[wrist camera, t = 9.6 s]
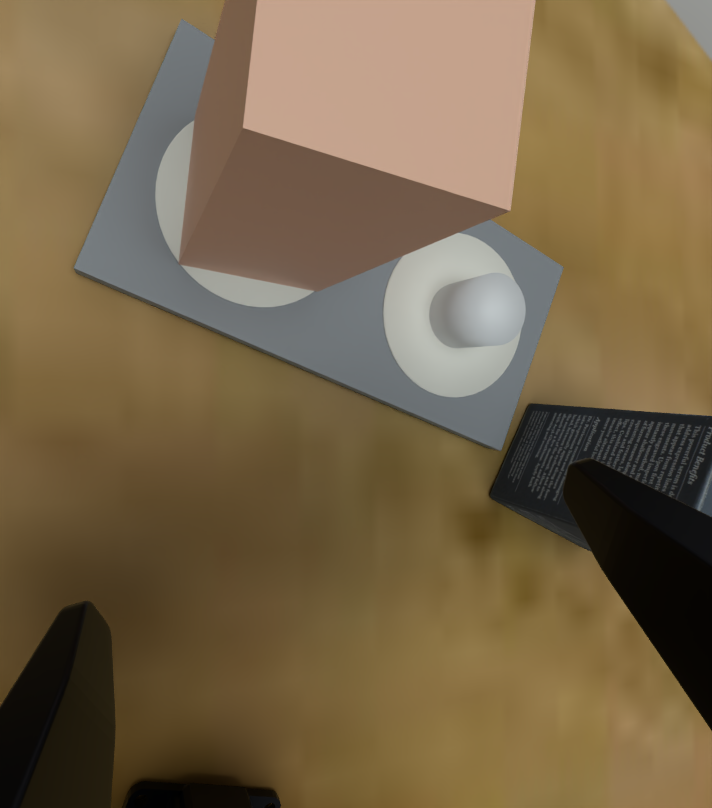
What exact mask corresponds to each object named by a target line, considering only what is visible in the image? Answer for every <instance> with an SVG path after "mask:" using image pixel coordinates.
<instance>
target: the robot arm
mask: <svg viewBox="0 0 712 808" xmlns="http://www.w3.org/2000/svg"><path fill="white" fill-rule="evenodd" d="M563 498H564V501H565V503H566V505H567V507H568V509H569V510H570V512H571V514H572V516H573V518H574V520H575V522H576V523H577V525H578V527H579V529H580V531H581V533H582V534H583V536H584V538H585V540H586V542H587V544H588V546H589V547H590V549H591V551H592V553H593V555H594V557H595V558H596V560H597V562H598V564H599V565H600V567H601V569H602V570H603V572H604V573H605V575H606V577H607V578H608V580H609V581H610V583H611V584H612V586H613V587H614V588H615V590H616V591H617V593H618V594H619V596H620V597H621V599H622V600H623V602H624V603H625V605H626V606H627V607H628V609H629V610H630V612H631V613H632V615H633V616H634V618H635V619H636V621H637V622H638V624H639V625H640V627H641V628H642V629H643V631H644V632H645V634H646V635H647V637H648V638H649V640H650V641H651V643H652V644H653V646H654V647H655V648H656V650H657V651H658V653H659V654H660V656H661V657H662V659H663V660H664V662H665V663H666V665H667V666H668V667H669V669H670V670H671V672H672V673H673V675H674V676H675V678H676V679H677V681H678V682H679V684H680V685H681V687H682V688H683V689H684V691H685V692H686V694H687V695H688V697H689V698H690V700H691V701H692V703H693V704H694V706H695V707H696V708H697V710H698V711H699V713H700V714H701V716H702V717H703V719H704V720H705V722H706V723H707V725H708V726H709V728H710V729H711V730H712V517H711V516H709V515H707V514H705V513H703V512H701V511H699V510H697V509H695V508H692V507H690V506H688V505H686V504H684V503H682V502H680V501H678V500H676V499H674V498H672V497H670V496H668V495H666V494H664V493H662V492H660V491H658V490H656V489H654V488H652V487H650V486H648V485H646V484H644V483H642V482H640V481H638V480H636V479H634V478H632V477H629V476H627V475H625V474H623V473H621V472H619V471H617V470H615V469H613V468H611V467H609V466H607V465H605V464H603V463H601V462H599V461H597V460H595V459H592V458H585V459H581V460H578V461H574V462H572V463H570V464H569V466H568V469H567V473H566V478H565V482H564V486H563ZM114 748H115V701H114V681H113V660H112V639H111V632H110V628H109V626H108V624H107V623H106V621H105V620H104V618H103V617H102V616H101V614H100V613H99V611H98V610H97V609H96V607H95V606H94V605H93V604H92V602H90V601H83V602H80V603H76V604H73V605H69V606H66V607H64V608H63V609H62V610H61V611H60V612H59V614H58V615H57V617H56V618H55V620H54V622H53V623H52V625H51V626H50V628H49V630H48V631H47V633H46V634H45V636H44V638H43V639H42V641H41V642H40V644H39V645H38V647H37V649H36V650H35V652H34V653H33V655H32V657H31V658H30V660H29V661H28V663H27V665H26V666H25V668H24V669H23V671H22V673H21V674H20V676H19V677H18V679H17V681H16V682H15V684H14V685H13V687H12V688H11V690H10V692H9V693H8V695H7V696H6V698H5V700H4V701H3V703H2V704H1V706H0V808H111V793H112V778H113V763H114ZM140 795H146V797H145V798H144V799H142V800H136V798H137V797H138V796H140ZM269 803H272V804H271V805H270V806H269V807H267V808H280V807H281V804H280V800H279V797H278V795H277V793H276V792H274V791H271V790H257V789H245V788H244V787H235V786H222V785H209V784H195V783H190V784H176V783H162V782H149V781H144V782H139V783H137V784H135V785H134V786H133V787H132V788H131V789H130V790H129V792H128V794H127V797H126V799H125V802H124V805H123V807H122V808H265V806H266V805H267V804H269Z"/></svg>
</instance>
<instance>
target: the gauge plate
mask: <svg viewBox="0 0 712 808" xmlns="http://www.w3.org/2000/svg"><path fill="white" fill-rule="evenodd" d="M214 41H215V40H214V39H212V38H211V37H209V36H208V35H206V34H204V33H203V32H201V31H200V30H198V29H197V28H195V27H194V26H192V25H191V24H189V23H188V22H186V21H184V20H183V19H181V22H180V24H179V26H178V28H177V31H176V33H175V35H174V38H173V40H172V42H171V45H170V47H169V49H168V52H167V54H166V56H165V58H164V61H163V63H162V65H161V68H160V70H159V72H158V75H157V77H156V79H155V82H154V84H153V86H152V88H151V91H150V93H149V95H148V98H147V100H146V102H145V105H144V107H143V109H142V112H141V114H140V116H139V118H138V121H137V123H136V125H135V128H134V130H133V132H132V135H131V137H130V139H129V142H128V144H127V146H126V148H125V151H124V153H123V155H122V158H121V160H120V162H119V165H118V167H117V169H116V172H115V174H114V176H113V178H112V181H111V183H110V185H109V188H108V190H107V192H106V195H105V197H104V199H103V202H102V204H101V206H100V208H99V211H98V213H97V215H96V218H95V220H94V222H93V225H92V227H91V229H90V232H89V234H88V236H87V238H86V241H85V243H84V245H83V248H82V250H81V252H80V255H79V257H78V259H77V262H76V264H75V266H74V270H75V271H76V273H78V274H80V275H82V276H85V277H87V278H89V279H92V280H94V281H96V282H99V283H101V284H103V285H106V286H108V287H111V288H113V289H115V290H118V291H120V292H122V293H125V294H127V295H129V296H132V297H134V298H136V299H139V300H141V301H143V302H146V303H148V304H150V305H153V306H155V307H158V308H160V309H162V310H165V311H167V312H169V313H172V314H174V315H176V316H179V317H181V318H183V319H186V320H188V321H190V322H193V323H195V324H197V325H200V326H202V327H205V328H207V329H209V330H212V331H214V332H216V333H219V334H221V335H223V336H226V337H228V338H230V339H233V340H235V341H237V342H240V343H242V344H245V345H247V346H249V347H252V348H254V349H256V350H259V351H261V352H263V353H266V354H268V355H270V356H273V357H275V358H277V359H280V360H282V361H284V362H287V363H289V364H292V365H294V366H296V367H299V368H301V369H303V370H306V371H308V372H310V373H313V374H315V375H317V376H320V377H322V378H324V379H327V380H329V381H332V382H334V383H336V384H339V385H341V386H343V387H346V388H348V389H350V390H353V391H355V392H357V393H360V394H362V395H364V396H367V397H369V398H371V399H374V400H376V401H379V402H381V403H383V404H386V405H388V406H390V407H393V408H395V409H397V410H400V411H402V412H404V413H407V414H409V415H411V416H414V417H416V418H418V419H421V420H423V421H426V422H428V423H430V424H433V425H435V426H437V427H440V428H442V429H444V430H447V431H449V432H451V433H454V434H456V435H458V436H461V437H463V438H466V439H468V440H470V441H473V442H475V443H477V444H480V445H482V446H484V447H487V448H490V449H494V450H499V451H501V450H502V447H503V444H504V441H505V438H506V435H507V432H508V429H509V426H510V424H511V421H512V418H513V415H514V412H515V409H516V406H517V403H518V400H519V397H520V394H521V391H522V388H523V385H524V382H525V379H526V376H527V374H528V371H529V368H530V365H531V362H532V359H533V356H534V353H535V350H536V347H537V344H538V341H539V338H540V335H541V332H542V329H543V327H544V324H545V321H546V318H547V315H548V312H549V309H550V306H551V303H552V300H553V297H554V294H555V291H556V288H557V285H558V282H559V279H560V277H561V274H562V271H563V268H564V267H562V266H561V265H559V264H558V263H556V262H555V261H553V260H552V259H550V258H549V257H547V256H546V255H544V254H542V253H541V252H539V251H538V250H536V249H535V248H533V247H532V246H530V245H529V244H527V243H526V242H524V241H522V240H521V239H519V238H518V237H516V236H515V235H513V234H512V233H510V232H509V231H507V230H506V229H504V228H502V227H501V226H499V225H498V224H496V223H495V222H493V221H492V220H488V221H485V222H483V223H480V224H478V225H476V226H473V227H471V228H468V229H466V230H464V231H461V232H459V233H456V234H454V235H452V236H449V237H447V238H445V239H442V240H440V241H437V242H435V243H433V244H430V245H428V246H425V247H423V248H421V249H418V250H416V251H414V252H411V253H409V254H406V255H404V256H402V257H399V258H397V259H394V260H392V261H390V262H387V263H385V264H382V265H380V266H378V267H375V268H373V269H371V270H368V271H366V272H363V273H361V274H359V275H356V276H354V277H351V278H349V279H347V280H344V281H342V282H340V283H337V284H335V285H332V286H330V287H328V288H325V289H323V290H320V291H318V292H316V291H311V290H306V289H301V288H296V287H291V286H286V285H281V284H276V283H271V282H266V281H261V280H256V279H250V278H245V277H240V276H235V275H230V274H225V273H220V272H215V271H210V270H205V269H200V268H195V267H190V266H184V265H179V264H178V263H179V254H180V245H181V236H182V227H183V218H184V209H185V200H186V191H187V182H188V173H189V164H190V155H191V146H192V137H193V128H194V119H195V114H196V110H197V106H198V102H199V98H200V94H201V91H202V87H203V83H204V79H205V75H206V72H207V68H208V64H209V60H210V56H211V52H212V49H213V45H214Z"/></svg>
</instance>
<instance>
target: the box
mask: <svg viewBox="0 0 712 808" xmlns="http://www.w3.org/2000/svg"><path fill="white" fill-rule="evenodd" d="M585 458H592V459H595V460H597V461H599V462H601V463H603V464H605V465H607V466H609V467H611V468H613V469H615V470H617V471H619V472H621V473H623V474H625V475H627V476H629V477H632V478H634V479H636V480H638V481H640V482H642V483H644V484H646V485H648V486H650V487H652V488H654V489H656V490H658V491H660V492H662V493H664V494H666V495H668V496H670V497H672V498H674V499H676V500H678V501H680V502H682V503H684V504H686V505H688V506H690V507H692V508H695V509H697V510H699V511H701V512H703V513H705V514H707V515H709V516H711V517H712V416H702V415H687V414H672V413H658V412H644V411H630V410H616V409H602V408H587V407H574V406H561V405H545V404H530V405H529V406H528V408H527V410H526V412H525V415H524V417H523V418H522V421H521V424H520V426H519V428H518V431H517V433H516V435H515V438H514V440H513V442H512V445H511V447H510V449H509V451H508V454H507V456H506V458H505V460H504V463H503V465H502V467H501V470H500V472H499V475H498V477H497V479H496V481H495V484H494V486H493V489H492V491H491V494H490V496H491V498H492V499H493V500H495V501H496V502H498V503H500V504H502V505H504V506H506V507H508V508H510V509H511V510H513V511H515V512H517V513H518V514H520V515H522V516H524V517H526V518H528V519H530V520H532V521H534V522H535V523H537V524H539V525H541V526H543V527H545V528H547V529H548V530H550V531H552V532H554V533H556V534H558V535H560V536H562V537H564V538H566V539H567V540H570V541H571V542H573V543H575V544H577V545H579V546H581V547H583V548H585V549H587V550H589V551H591V549H590V547H589V546H588V544H587V542H586V540H585V538H584V536H583V534H582V533H581V531H580V529H579V527H578V525H577V523H576V522H575V520H574V518H573V516H572V514H571V512H570V510H569V509H568V507H567V505H566V503H565V501H564V498H563V486H564V482H565V478H566V473H567V469H568V466H569V464H570V463H572V462H574V461H578V460H581V459H585Z"/></svg>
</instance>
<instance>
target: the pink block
mask: <svg viewBox="0 0 712 808" xmlns="http://www.w3.org/2000/svg"><path fill="white" fill-rule="evenodd" d="M534 8H535V0H225V3H224V7H223V11H222V14H221V18H220V22H219V26H218V30H217V33H216V37H215V41H214V45H213V49H212V52H211V56H210V60H209V64H208V68H207V72H206V75H205V79H204V83H203V87H202V91H201V94H200V98H199V102H198V106H197V110H196V114H195V119H194V128H193V137H192V146H191V155H190V164H189V173H188V182H187V191H186V200H185V209H184V218H183V227H182V236H181V245H180V254H179V263H178V264H179V265H184V266H190V267H195V268H200V269H205V270H210V271H215V272H220V273H225V274H230V275H235V276H240V277H245V278H250V279H256V280H261V281H266V282H271V283H276V284H281V285H286V286H291V287H296V288H301V289H306V290H311V291H316V292H318V291H320V290H323V289H325V288H328V287H330V286H332V285H335V284H337V283H340V282H342V281H344V280H347V279H349V278H351V277H354V276H356V275H359V274H361V273H363V272H366V271H368V270H371V269H373V268H375V267H378V266H380V265H382V264H385V263H387V262H390V261H392V260H394V259H397V258H399V257H402V256H404V255H406V254H409V253H411V252H414V251H416V250H418V249H421V248H423V247H425V246H428V245H430V244H433V243H435V242H437V241H440V240H442V239H445V238H447V237H449V236H452V235H454V234H456V233H459V232H461V231H464V230H466V229H468V228H471V227H473V226H476V225H478V224H480V223H483V222H485V221H488V220H490V219H492V218H495V217H497V216H499V215H502V214H504V213H507V212H509V211H511V202H512V194H513V185H514V177H515V168H516V160H517V152H518V143H519V135H520V126H521V118H522V109H523V101H524V92H525V84H526V75H527V67H528V59H529V50H530V42H531V33H532V25H533V16H534Z"/></svg>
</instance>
